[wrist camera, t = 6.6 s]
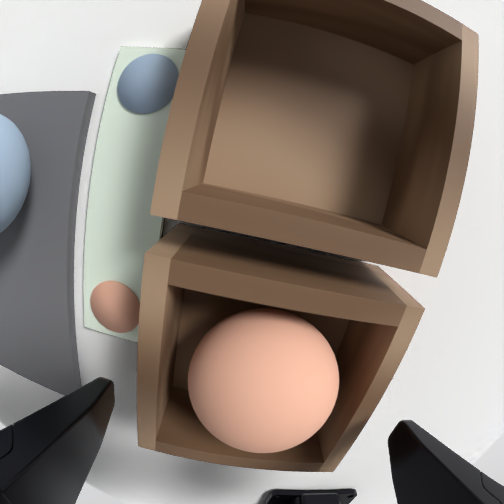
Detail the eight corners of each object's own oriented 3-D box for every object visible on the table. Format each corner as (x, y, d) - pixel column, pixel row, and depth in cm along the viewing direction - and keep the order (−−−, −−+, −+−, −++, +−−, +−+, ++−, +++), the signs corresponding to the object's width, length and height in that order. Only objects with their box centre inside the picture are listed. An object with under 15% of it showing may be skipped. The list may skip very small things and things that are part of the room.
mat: (82, 394, 14) (78, 400, 13) (-6, 353, 14) (-11, 358, 13) (96, 93, 10) (89, 91, 9) (-10, 97, 9) (-18, 96, 9)
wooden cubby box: (318, 411, 14) (333, 471, 10) (159, 385, 14) (138, 446, 10) (378, 265, 12) (424, 308, 8) (179, 223, 11) (144, 253, 8)
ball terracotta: (301, 394, 13) (320, 482, 8) (191, 377, 13) (171, 467, 8) (338, 297, 12) (386, 377, 7) (209, 272, 11) (183, 349, 6)
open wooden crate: (385, 242, 12) (437, 277, 8) (183, 196, 11) (149, 214, 7) (422, 61, 10) (478, 34, 6) (231, 3, 9) (223, -55, 5)
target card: (150, 341, 13) (147, 346, 12) (87, 323, 13) (83, 327, 12) (200, 53, 10) (198, 49, 9) (123, 48, 9) (119, 45, 9)
